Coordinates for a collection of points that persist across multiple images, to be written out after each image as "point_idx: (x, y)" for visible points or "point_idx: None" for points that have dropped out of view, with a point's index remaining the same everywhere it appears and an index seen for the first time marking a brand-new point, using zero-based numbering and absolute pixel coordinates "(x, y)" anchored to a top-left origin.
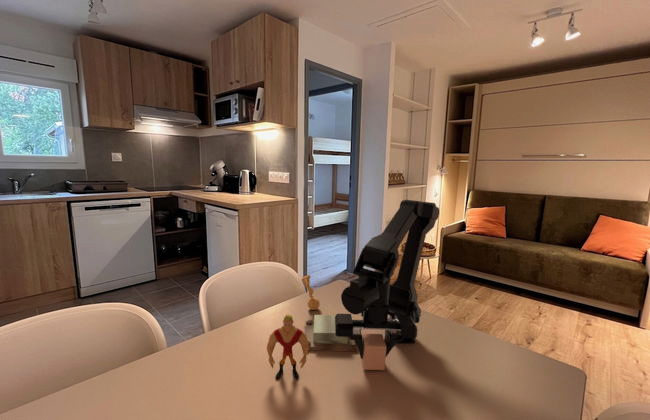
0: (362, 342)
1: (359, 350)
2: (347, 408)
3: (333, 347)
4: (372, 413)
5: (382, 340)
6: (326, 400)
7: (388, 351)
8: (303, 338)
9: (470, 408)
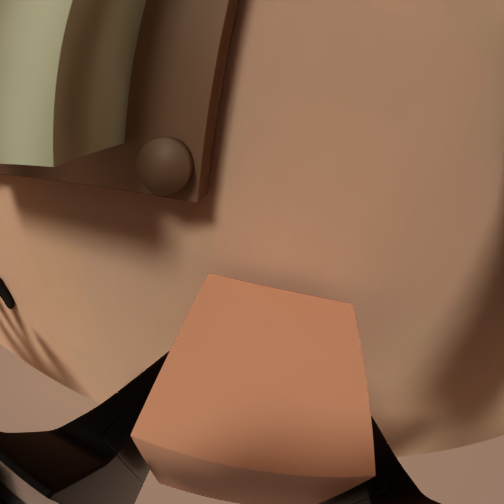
0: (136, 498)
1: None
2: None
3: (49, 179)
4: None
5: (313, 499)
6: (93, 385)
7: None
8: None
9: (434, 447)
